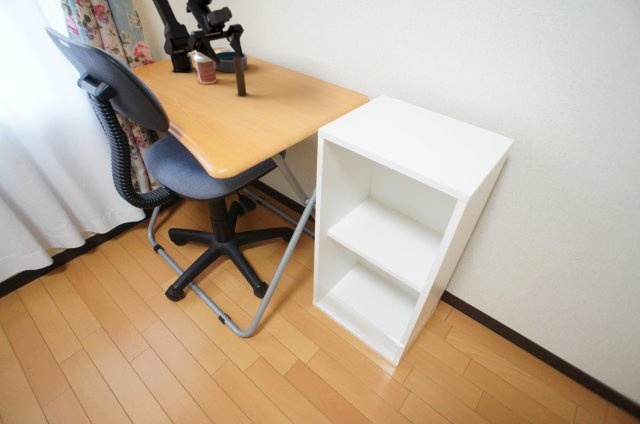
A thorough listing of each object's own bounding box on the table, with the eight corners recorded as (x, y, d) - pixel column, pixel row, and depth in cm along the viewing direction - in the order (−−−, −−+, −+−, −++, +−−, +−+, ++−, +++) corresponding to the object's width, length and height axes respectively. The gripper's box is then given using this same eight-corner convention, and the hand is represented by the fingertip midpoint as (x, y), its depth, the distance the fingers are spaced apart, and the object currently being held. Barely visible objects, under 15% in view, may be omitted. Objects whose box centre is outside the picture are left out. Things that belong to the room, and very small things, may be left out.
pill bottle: (220, 81, 114) (214, 48, 107) (206, 85, 110) (200, 52, 103) (209, 77, 117) (203, 45, 109) (195, 81, 113) (188, 48, 105)
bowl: (211, 72, 120) (209, 60, 117) (217, 62, 130) (215, 50, 127) (245, 73, 121) (244, 61, 118) (249, 63, 131) (248, 51, 128)
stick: (237, 96, 104) (232, 58, 96) (238, 93, 107) (233, 55, 99) (246, 96, 105) (241, 58, 97) (246, 93, 107) (242, 56, 99)
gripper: (183, -1, 86) (215, 50, 88) (236, -6, 97) (263, 39, 99) (175, 26, 95) (204, 72, 97) (224, 19, 106) (249, 60, 108)
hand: (231, 60), depth 100 cm, fingers open, 9 cm apart
